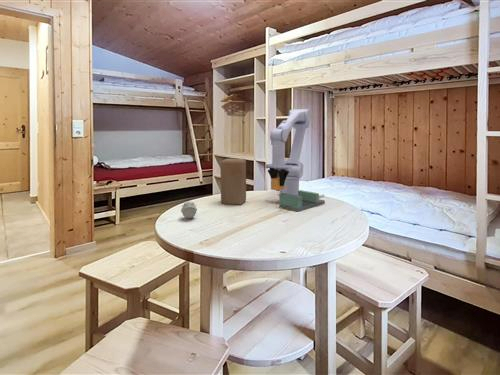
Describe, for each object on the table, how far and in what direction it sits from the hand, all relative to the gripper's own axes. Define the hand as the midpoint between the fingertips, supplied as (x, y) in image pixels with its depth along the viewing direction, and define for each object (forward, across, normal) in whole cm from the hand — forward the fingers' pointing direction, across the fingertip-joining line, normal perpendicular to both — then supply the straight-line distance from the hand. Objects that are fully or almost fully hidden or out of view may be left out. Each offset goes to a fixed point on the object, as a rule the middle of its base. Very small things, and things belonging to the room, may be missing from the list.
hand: (278, 185), depth 155 cm
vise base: (+8, +12, +3) cm, 15 cm away
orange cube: (+2, 0, 0) cm, 2 cm away
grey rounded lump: (+8, -6, -45) cm, 46 cm away
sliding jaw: (+6, +12, +9) cm, 17 cm away
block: (+8, -14, -15) cm, 22 cm away
